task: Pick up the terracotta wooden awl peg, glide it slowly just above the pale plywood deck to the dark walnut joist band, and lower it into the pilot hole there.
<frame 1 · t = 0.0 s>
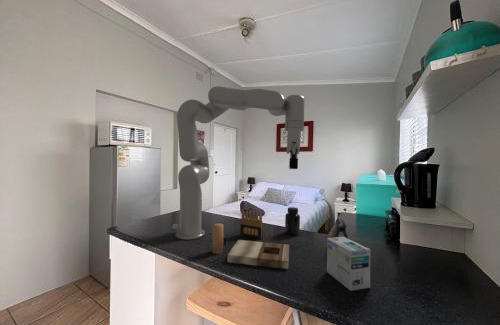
hand: (293, 168, 89), 31 cm above the kitchen counter, tool pointing down, fingers open, 9 cm apart
awl peg: (217, 251, 81), on the kitchen counter
light bulb box: (346, 280, 64), on the kitchen counter
ammunition clip: (251, 237, 98), on the kitchen counter
phone stand: (340, 252, 83), on the kitchen counter
supplement bottle: (292, 233, 103), on the kitchen counter
plywood deck: (260, 256, 78), on the kitchen counter
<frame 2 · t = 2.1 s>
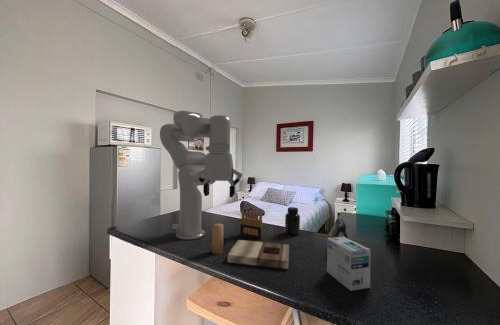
hand: (219, 196, 80), 21 cm above the kitchen counter, tool pointing down, fingers open, 9 cm apart
nothing on the kitchen counter moved.
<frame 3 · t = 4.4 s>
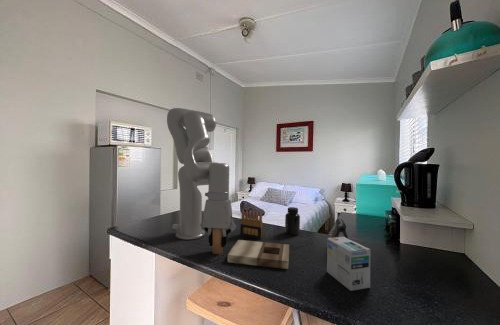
hand: (217, 245, 81), 3 cm above the kitchen counter, tool pointing down, fingers closed on awl peg, 4 cm apart
awl peg: (217, 251, 81), on the kitchen counter, touching gripper
everything else where it was.
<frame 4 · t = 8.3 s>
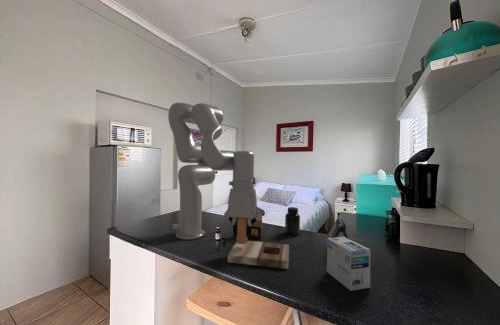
hand: (242, 235, 79), 7 cm above the kitchen counter, tool pointing down, fingers closed on awl peg, 4 cm apart
awl peg: (242, 242, 79), point 5 cm above the kitchen counter, touching gripper
everything else where it was.
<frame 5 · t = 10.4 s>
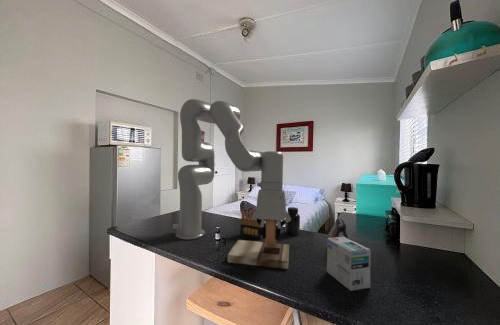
hand: (270, 237, 77), 7 cm above the kitchen counter, tool pointing down, fingers closed on awl peg, 4 cm apart
awl peg: (270, 244, 77), point 5 cm above the kitchen counter, touching gripper
everything else where it was.
when the fingers open (4 cm above the kitchen counter, at t = 12.4 s): awl peg drops 1 cm, resting in plywood deck.
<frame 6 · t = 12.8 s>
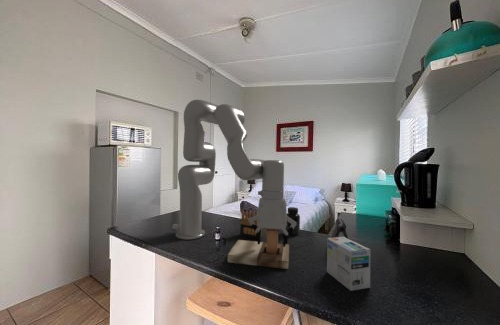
hand: (271, 244, 77), 5 cm above the kitchen counter, tool pointing down, fingers open, 8 cm apart
awl peg: (271, 257, 77), resting in plywood deck
everything else where it was.
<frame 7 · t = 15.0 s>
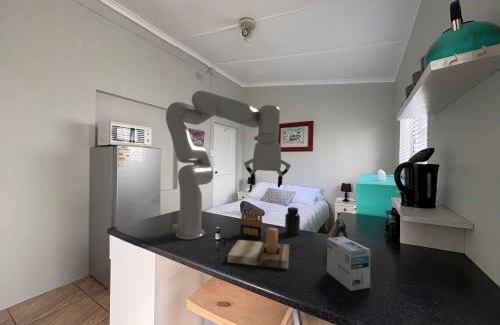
hand: (265, 186, 81), 25 cm above the kitchen counter, tool pointing down, fingers open, 9 cm apart
nothing on the kitchen counter moved.
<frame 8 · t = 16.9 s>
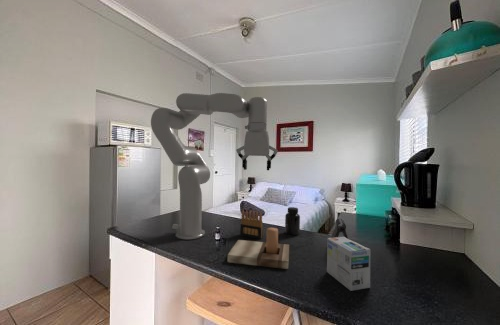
hand: (256, 169, 90), 30 cm above the kitchen counter, tool pointing down, fingers open, 9 cm apart
nothing on the kitchen counter moved.
at the end: awl peg 0.1 cm from the target spot on the plywood deck, point 0.0 cm above the plywood deck's base; awl peg tilted 0°; the gripper is holding nothing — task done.
